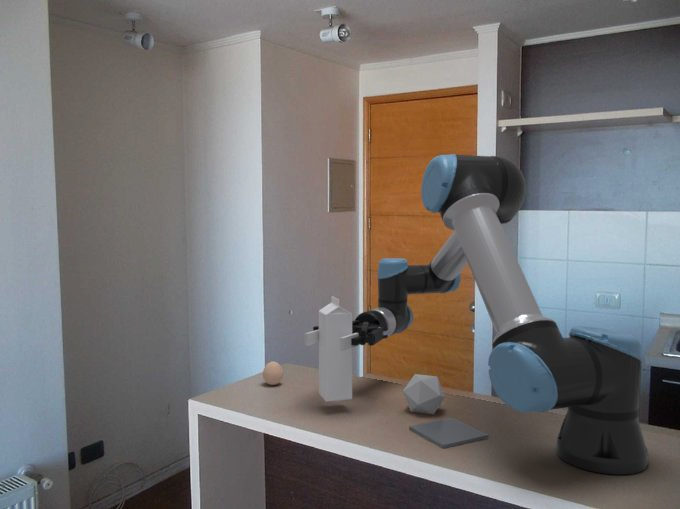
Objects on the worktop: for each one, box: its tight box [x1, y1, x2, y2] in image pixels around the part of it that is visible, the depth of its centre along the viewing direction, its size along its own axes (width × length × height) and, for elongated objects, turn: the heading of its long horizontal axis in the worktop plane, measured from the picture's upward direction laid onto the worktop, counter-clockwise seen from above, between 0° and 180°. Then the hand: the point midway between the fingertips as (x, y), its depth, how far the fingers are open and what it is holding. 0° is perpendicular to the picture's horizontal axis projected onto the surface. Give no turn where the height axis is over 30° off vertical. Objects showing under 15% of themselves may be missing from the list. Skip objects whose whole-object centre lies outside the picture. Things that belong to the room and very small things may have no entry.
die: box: [402, 373, 446, 416], centre depth 134 cm, size 8×9×10 cm
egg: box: [262, 361, 284, 386], centre depth 154 cm, size 5×5×6 cm
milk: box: [318, 295, 353, 402], centre depth 134 cm, size 6×6×22 cm
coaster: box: [408, 417, 489, 449], centre depth 121 cm, size 11×11×1 cm
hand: (323, 342), depth 130 cm, fingers closed on milk, 8 cm apart
